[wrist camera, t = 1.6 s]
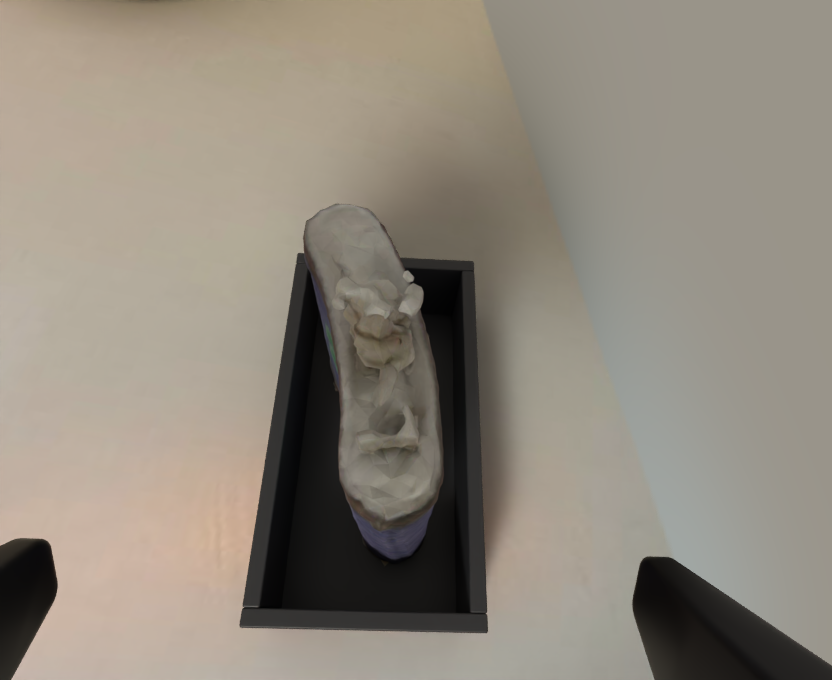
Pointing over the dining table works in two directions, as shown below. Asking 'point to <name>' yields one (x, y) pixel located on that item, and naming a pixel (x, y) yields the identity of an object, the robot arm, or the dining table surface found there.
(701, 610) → the robot arm
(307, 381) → the open box
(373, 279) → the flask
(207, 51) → the dining table surface
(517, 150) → the dining table surface
